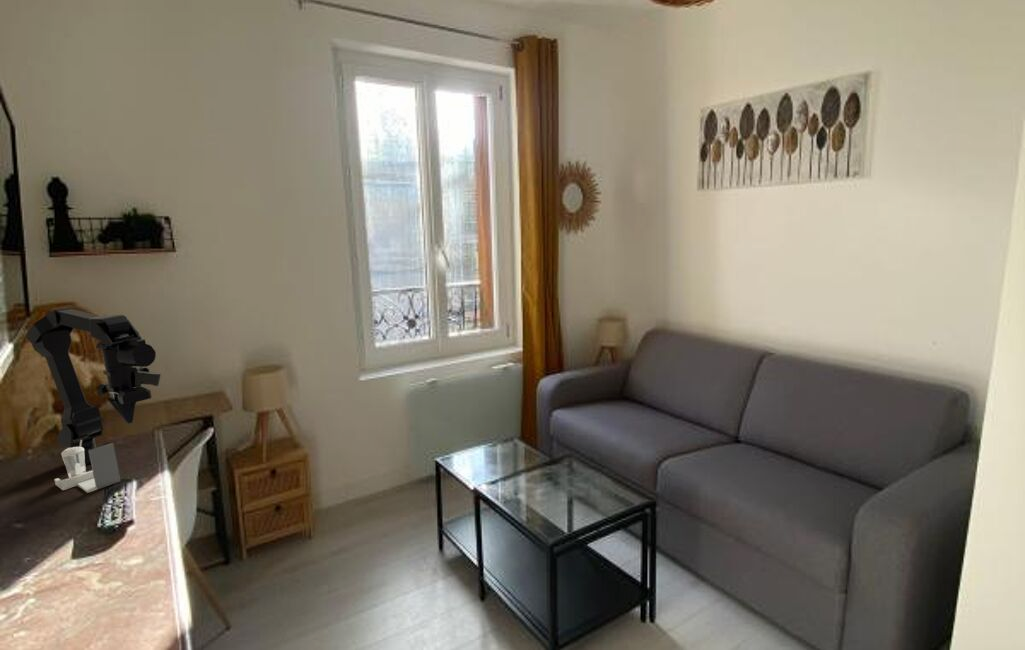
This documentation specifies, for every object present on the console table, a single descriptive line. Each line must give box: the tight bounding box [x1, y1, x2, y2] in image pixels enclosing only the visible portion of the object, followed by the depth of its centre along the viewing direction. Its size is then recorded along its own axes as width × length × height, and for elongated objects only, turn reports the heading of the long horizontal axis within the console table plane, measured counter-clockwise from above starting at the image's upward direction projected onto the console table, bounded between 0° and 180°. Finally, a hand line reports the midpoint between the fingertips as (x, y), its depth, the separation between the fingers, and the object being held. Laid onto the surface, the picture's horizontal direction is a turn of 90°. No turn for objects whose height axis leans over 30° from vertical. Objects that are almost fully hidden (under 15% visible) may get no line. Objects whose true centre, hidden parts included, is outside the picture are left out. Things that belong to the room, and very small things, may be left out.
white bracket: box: [54, 443, 121, 494], centre depth 138 cm, size 13×10×10 cm
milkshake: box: [61, 440, 87, 478], centre depth 140 cm, size 4×5×10 cm
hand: (129, 422), depth 144 cm, fingers closed
